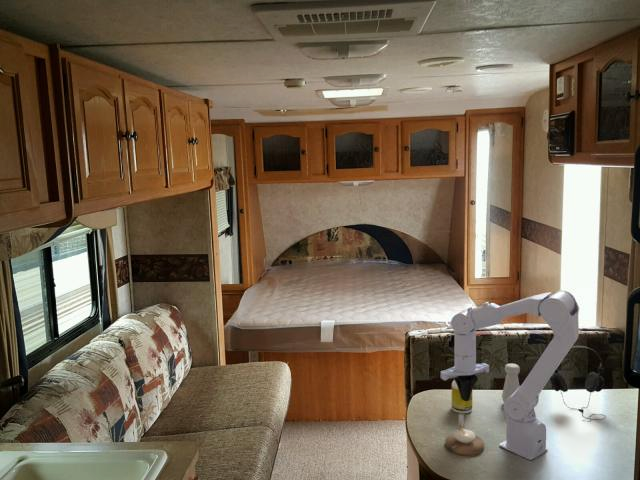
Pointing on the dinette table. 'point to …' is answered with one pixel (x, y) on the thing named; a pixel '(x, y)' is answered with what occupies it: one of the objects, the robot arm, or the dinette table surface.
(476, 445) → the base
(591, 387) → the headphones
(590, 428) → the dinette table surface
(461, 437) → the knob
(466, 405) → the pill bottle
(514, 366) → the salt shaker
